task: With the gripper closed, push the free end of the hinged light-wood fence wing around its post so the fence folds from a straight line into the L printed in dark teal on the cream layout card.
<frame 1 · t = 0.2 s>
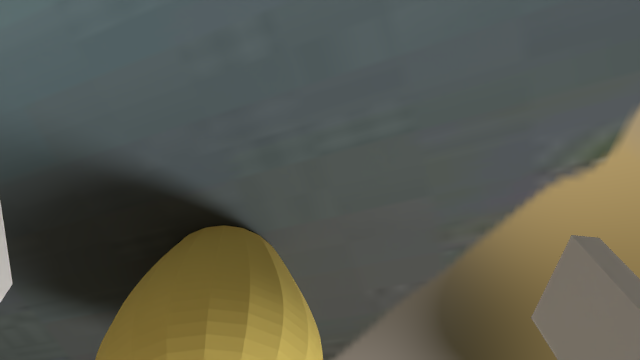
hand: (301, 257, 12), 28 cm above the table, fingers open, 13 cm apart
vase: (224, 270, 47), on the table
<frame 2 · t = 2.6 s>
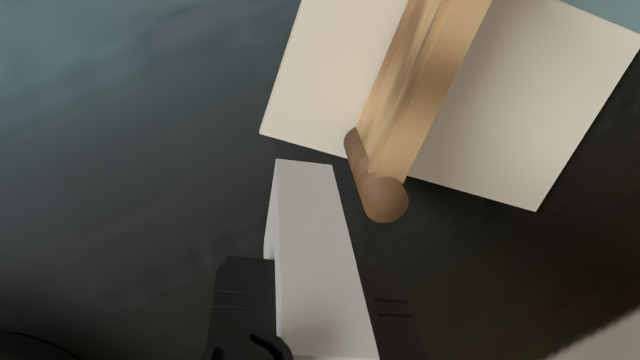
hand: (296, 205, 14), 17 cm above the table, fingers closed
fence wing: (420, 62, 25), point 5 cm above the table, hinge at 0.0°
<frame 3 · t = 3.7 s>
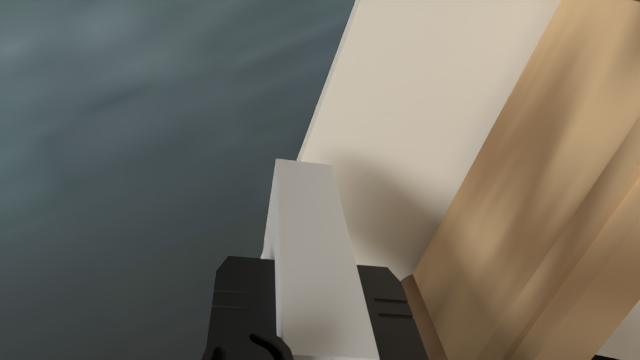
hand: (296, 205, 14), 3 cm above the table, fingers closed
fence wing: (558, 209, 13), point 5 cm above the table, hinge at 0.0°
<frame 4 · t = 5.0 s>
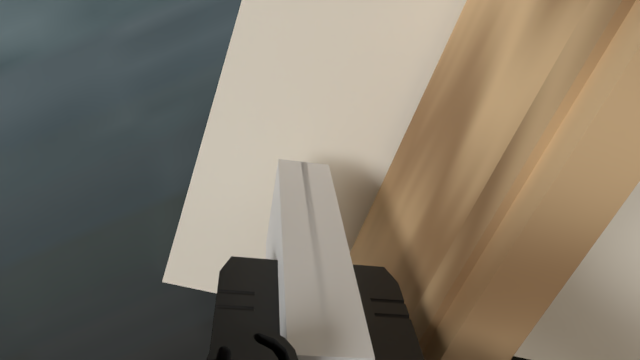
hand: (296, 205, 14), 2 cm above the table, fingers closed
fence wing: (472, 201, 11), point 5 cm above the table, hinge at 0.7°, touching gripper
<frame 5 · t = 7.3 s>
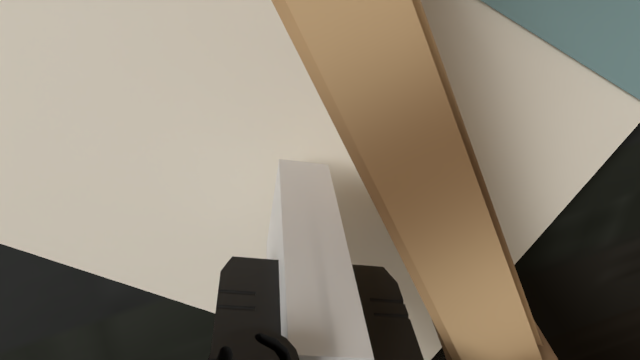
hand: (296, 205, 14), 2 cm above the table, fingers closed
fence wing: (382, 96, 10), point 5 cm above the table, hinge at 54.1°, touching gripper
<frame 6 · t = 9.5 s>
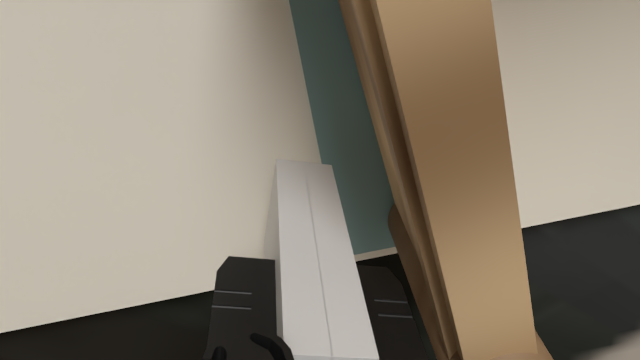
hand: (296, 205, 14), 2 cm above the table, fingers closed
fence wing: (408, 62, 10), point 5 cm above the table, hinge at 97.1°
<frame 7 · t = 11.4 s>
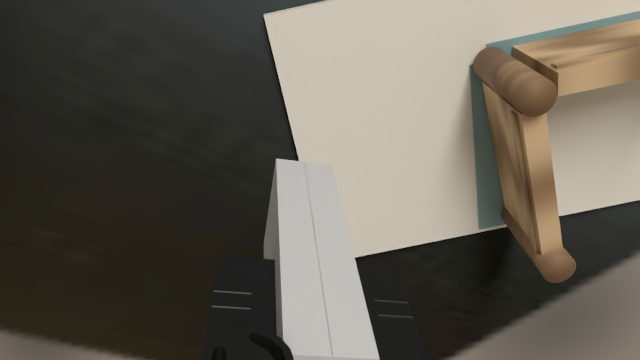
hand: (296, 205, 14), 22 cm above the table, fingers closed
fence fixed: (583, 37, 35), resting on layout card
fence wing: (524, 165, 34), point 5 cm above the table, hinge at 97.1°
layout card: (486, 112, 37), on the table
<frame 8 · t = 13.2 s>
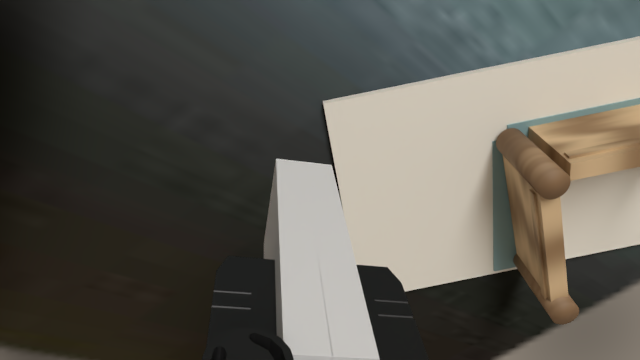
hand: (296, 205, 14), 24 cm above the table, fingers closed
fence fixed: (587, 118, 41), resting on layout card
fence wing: (537, 227, 40), point 5 cm above the table, hinge at 97.1°
layout card: (503, 177, 43), on the table
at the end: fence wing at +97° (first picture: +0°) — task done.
